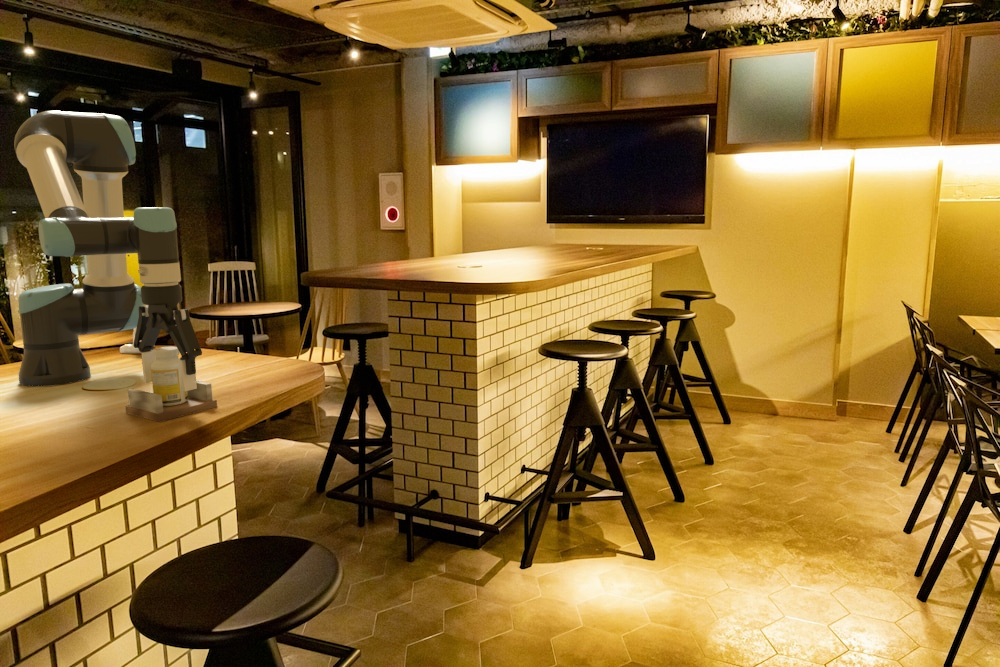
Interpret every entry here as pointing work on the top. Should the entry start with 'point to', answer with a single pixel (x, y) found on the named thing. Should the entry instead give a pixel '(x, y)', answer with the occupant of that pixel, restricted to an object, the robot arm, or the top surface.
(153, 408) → the slot cradle
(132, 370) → the top surface
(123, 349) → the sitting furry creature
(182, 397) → the pill bottle
